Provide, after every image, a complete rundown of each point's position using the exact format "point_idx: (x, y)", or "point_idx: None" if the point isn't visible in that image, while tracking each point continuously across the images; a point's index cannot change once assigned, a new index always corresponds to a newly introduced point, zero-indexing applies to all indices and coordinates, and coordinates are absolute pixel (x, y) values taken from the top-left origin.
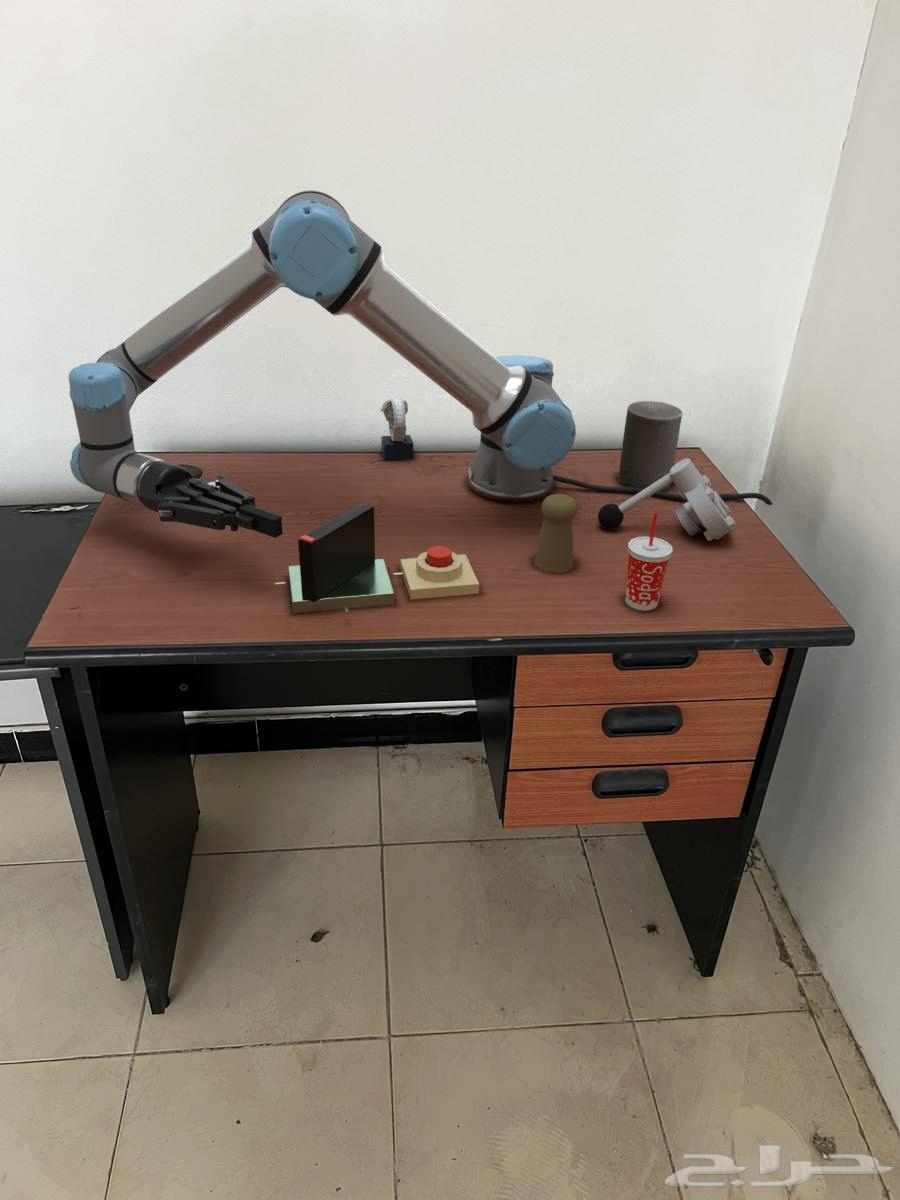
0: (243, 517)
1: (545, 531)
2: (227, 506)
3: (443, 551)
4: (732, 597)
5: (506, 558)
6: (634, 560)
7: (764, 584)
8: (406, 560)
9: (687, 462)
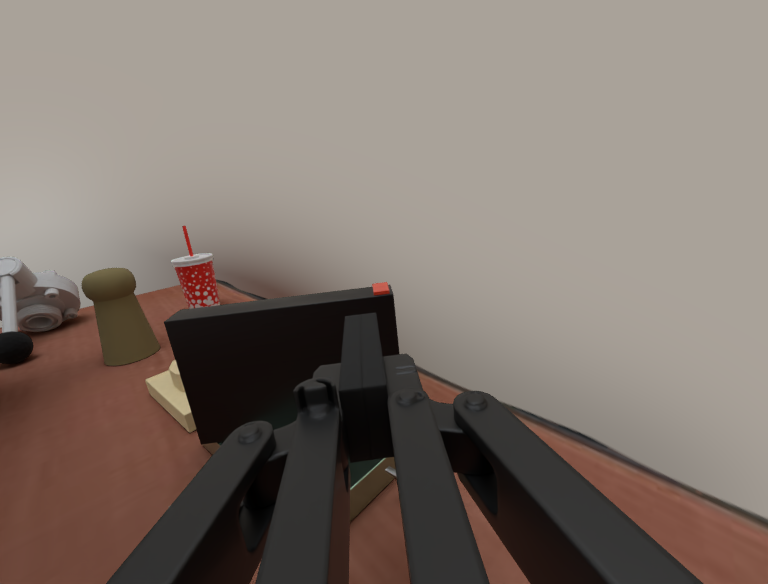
0: (408, 371)
1: (130, 310)
2: (402, 424)
3: None
4: (181, 297)
5: (123, 379)
6: (207, 265)
7: (154, 297)
8: (187, 408)
9: (11, 257)
